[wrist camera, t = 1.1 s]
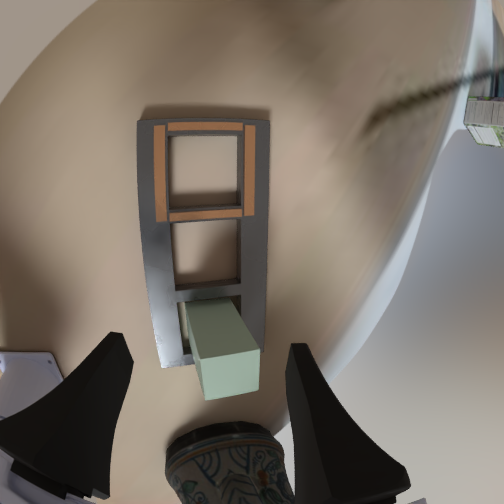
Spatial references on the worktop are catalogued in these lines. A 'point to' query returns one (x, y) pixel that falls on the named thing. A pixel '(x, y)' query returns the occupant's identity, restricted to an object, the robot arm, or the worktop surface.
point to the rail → (161, 216)
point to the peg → (222, 348)
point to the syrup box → (486, 120)
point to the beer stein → (228, 466)
